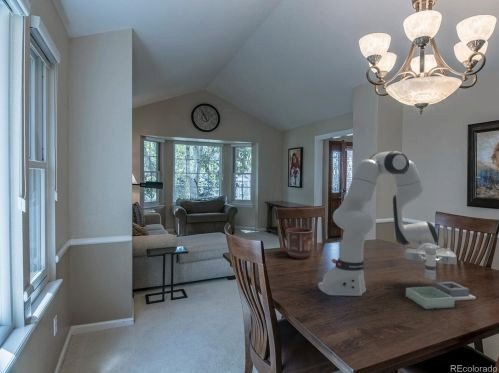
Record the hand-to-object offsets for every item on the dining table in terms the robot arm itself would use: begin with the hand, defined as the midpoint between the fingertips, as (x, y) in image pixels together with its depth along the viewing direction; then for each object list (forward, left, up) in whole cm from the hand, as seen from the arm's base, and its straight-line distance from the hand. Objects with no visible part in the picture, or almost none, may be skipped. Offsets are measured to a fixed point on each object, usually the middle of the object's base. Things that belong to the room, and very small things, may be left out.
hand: (430, 260), depth 131 cm
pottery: (-35, +78, -18) cm, 87 cm away
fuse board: (+16, +7, -18) cm, 25 cm away
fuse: (+1, +1, -8) cm, 8 cm away
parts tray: (0, +1, -18) cm, 18 cm away
